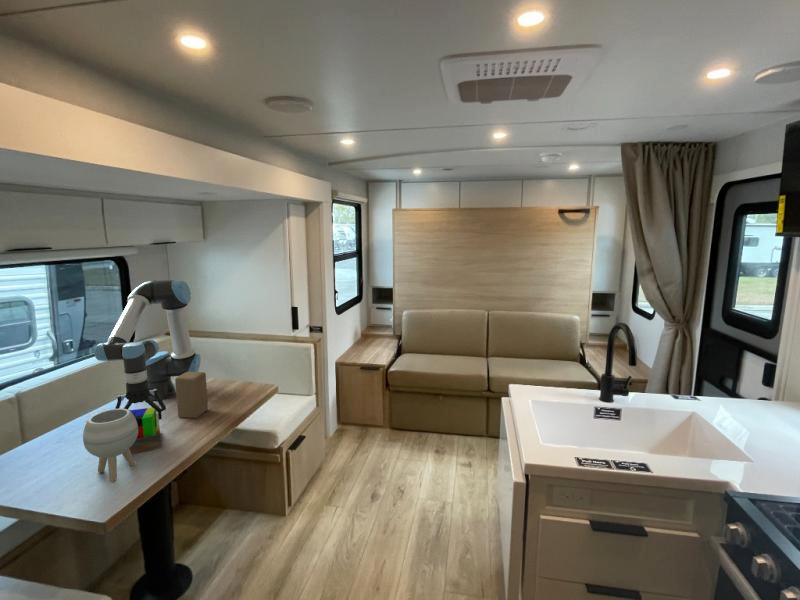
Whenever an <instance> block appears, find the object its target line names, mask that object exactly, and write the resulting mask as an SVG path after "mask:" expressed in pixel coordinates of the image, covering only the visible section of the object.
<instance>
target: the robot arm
mask: <svg viewBox="0 0 800 600" xmlns="http://www.w3.org/2000/svg"><path fill="white" fill-rule="evenodd" d="M191 293H192V292H191V289H190V286H189V284H188V283H187V282H186V281H184V280H176V279H174V280H173V279H172V280H171V279H170V280H168V279H167V280H163V279H162V280H156V279H155V280H152V279H151V280H148V281H145V282H143V283H141V284H140V285H138V286H137V287H135V288H134V289H133V290H132V291H131V293H130V294H129V295H128V296H127V300H126V302H127V304H126V306H125V308H124V310H123V311H122V313H121V315H120V317H119V319H117V320H118V321H117V322H116V324H115V326H114V327H113V329H112V331H111V333H110V335H109V337H108V339H107V341H106V342H100V343H98V344H96V346H95V348H94V352H93V353H94V357H95V359H96V360H97V361H99V362H113V361H116V362H117V361H123V367H124V368H123V370H124V371H123V373H124V380H125V390H126V393H125V394H117V398H116V399H117V402H116V405H115V408H114V409H121V405H122V402H123V401H124V400H125V399H126V400H128V401H127V403H126V404H125V406H124V407H123V408H122V409H128V410H130V407H131V406H132V404H138V403H144V402H145V403H147V405H149V406H150V408H152V407H153V408H154V409H155V410H156V419H157V428H159V426H160V420H162V412H163V411H166V409H167V406H166V405H165V403H164V401H163V400H165V399H168V398H171V397H172V396H175V394H176V385H175V383H174V382H173V380H172V377H179V376H180V375H182V374H184V373H186V372H199V369H200V366H201V354H199V353H196V350H195V349H194V348H193V347H192V343H191V338H190V337H191V336H190V331H189V325H188V319H187V313H186V312H187V311H186V308H187V307H188V304H189V303H190V302H191V296H192V294H191ZM153 304H156V305H159V304H160V305H161V309H162V310H164V311H165V312H166V318H167V324H168V325H167V326H168V330H169V335H170V341H171V347H172V352H171V353H170V352H169V351H167V350H166V351H164V350H163V351H159V349H160V346H159V344H158V342H156V341H155V340H153V339H146V340H143V341H139V342H137V341H136V342H134V341H133V342H130V341H131V338H132V337H133V334H134V333H135V330H136V328H137V326H138V325H139V324H140V321H141V319H142V317H143V314H144V313H145V310H147V309H149V308H150V306H151V305H153ZM154 401H157V403H158V404H157V403H155V402H154ZM158 405H159V406H158Z"/></svg>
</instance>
